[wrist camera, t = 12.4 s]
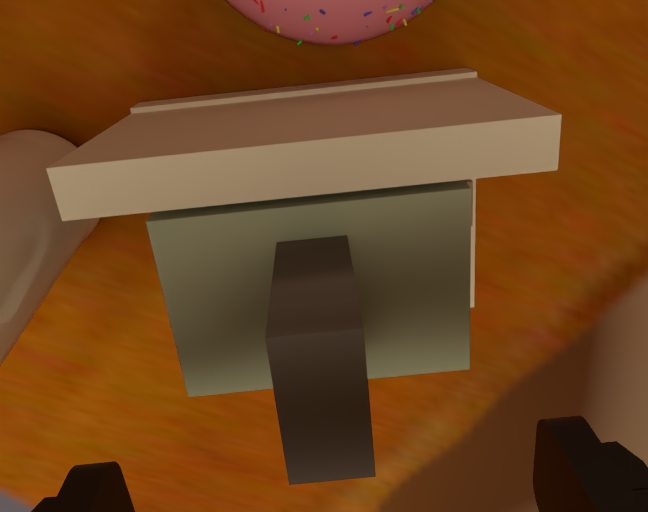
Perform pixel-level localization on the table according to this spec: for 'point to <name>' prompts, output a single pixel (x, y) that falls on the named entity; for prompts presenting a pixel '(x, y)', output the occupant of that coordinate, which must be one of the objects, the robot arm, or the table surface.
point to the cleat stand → (307, 145)
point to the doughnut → (330, 18)
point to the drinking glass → (31, 228)
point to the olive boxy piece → (319, 306)
